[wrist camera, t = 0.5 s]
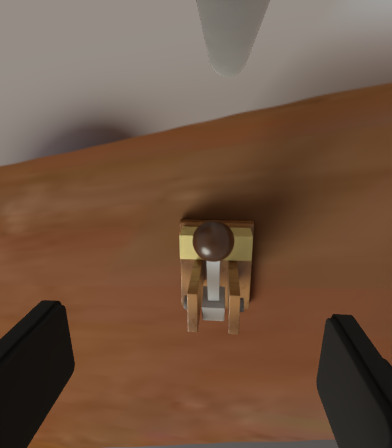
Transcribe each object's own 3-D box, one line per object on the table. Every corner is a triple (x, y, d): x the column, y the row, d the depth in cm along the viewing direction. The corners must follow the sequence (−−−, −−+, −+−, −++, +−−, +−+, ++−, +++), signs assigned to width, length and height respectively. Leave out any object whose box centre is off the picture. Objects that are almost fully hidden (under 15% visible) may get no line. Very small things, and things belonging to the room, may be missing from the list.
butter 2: (220, 226, 35) (220, 236, 32) (250, 227, 34) (253, 236, 32) (219, 249, 36) (219, 260, 33) (249, 250, 35) (251, 261, 33)
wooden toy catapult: (180, 219, 36) (164, 256, 26) (253, 220, 35) (265, 259, 25) (182, 300, 40) (169, 360, 30) (248, 303, 39) (257, 366, 29)
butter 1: (182, 226, 35) (179, 235, 32) (212, 226, 35) (211, 235, 32) (183, 248, 36) (179, 259, 33) (211, 249, 36) (210, 260, 33)
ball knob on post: (193, 210, 22) (189, 243, 20) (235, 211, 22) (236, 244, 19) (199, 295, 31) (197, 323, 29) (229, 296, 31) (229, 325, 29)
